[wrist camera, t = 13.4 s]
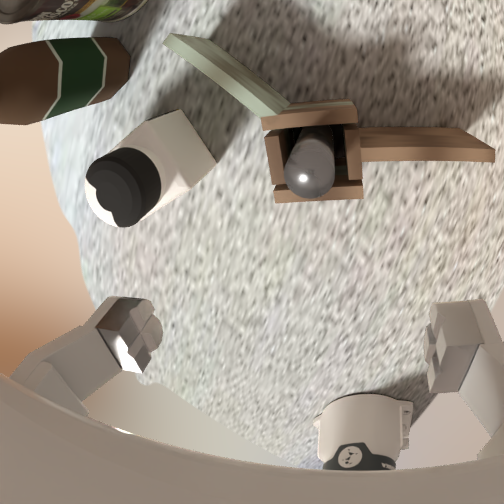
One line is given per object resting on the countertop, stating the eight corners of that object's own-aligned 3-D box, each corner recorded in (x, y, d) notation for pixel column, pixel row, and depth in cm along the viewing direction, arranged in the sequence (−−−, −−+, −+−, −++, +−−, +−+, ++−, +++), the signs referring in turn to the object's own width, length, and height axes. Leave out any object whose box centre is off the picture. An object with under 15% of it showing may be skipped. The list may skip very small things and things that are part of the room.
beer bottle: (125, 24, 25) (-92, 47, 5) (140, 88, 29) (-74, 167, 9) (74, 51, 27) (-113, 102, 8) (88, 109, 31) (-93, 195, 12)
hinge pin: (338, 143, 28) (342, 188, 18) (309, 155, 29) (297, 205, 20) (324, 114, 27) (321, 142, 17) (295, 127, 28) (274, 162, 18)
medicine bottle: (181, 106, 29) (110, 133, 20) (219, 163, 32) (165, 214, 22) (134, 143, 33) (62, 183, 23) (169, 194, 35) (109, 250, 25)
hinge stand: (229, 176, 32) (201, 209, 26) (200, 41, 25) (160, 36, 19) (458, 165, 26) (491, 197, 19) (448, 21, 19) (484, 10, 12)
